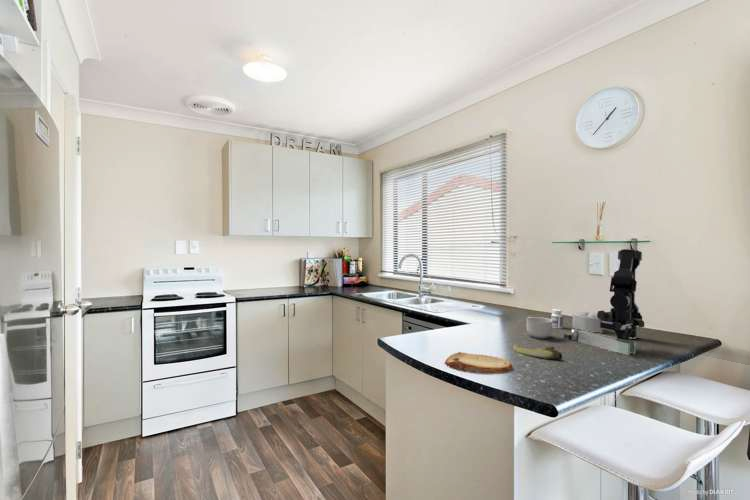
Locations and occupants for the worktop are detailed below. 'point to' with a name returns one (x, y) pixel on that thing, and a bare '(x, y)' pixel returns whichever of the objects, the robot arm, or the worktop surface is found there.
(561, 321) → the pill bottle
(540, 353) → the olive green elongated piece
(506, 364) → the bread slice
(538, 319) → the teacup
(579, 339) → the tongs fixed arm
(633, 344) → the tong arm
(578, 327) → the lumpy-topped squat cylinder
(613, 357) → the worktop surface
